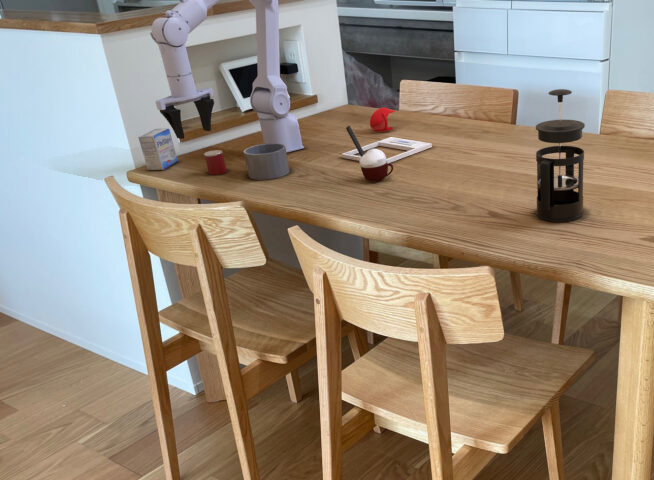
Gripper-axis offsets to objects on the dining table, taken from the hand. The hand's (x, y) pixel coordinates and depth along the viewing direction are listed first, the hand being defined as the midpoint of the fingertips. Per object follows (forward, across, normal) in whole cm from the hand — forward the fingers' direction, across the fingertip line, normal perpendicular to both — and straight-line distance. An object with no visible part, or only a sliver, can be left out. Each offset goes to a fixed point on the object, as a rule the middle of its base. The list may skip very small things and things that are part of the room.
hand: (194, 134), depth 182 cm
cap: (+10, -51, +14) cm, 54 cm away
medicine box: (+10, +1, -17) cm, 19 cm away
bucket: (+10, -8, +16) cm, 20 cm away
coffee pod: (+10, -2, +2) cm, 10 cm away
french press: (+10, -16, +93) cm, 95 cm away
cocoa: (+10, -16, +43) cm, 47 cm away
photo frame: (+10, -34, +31) cm, 47 cm away
